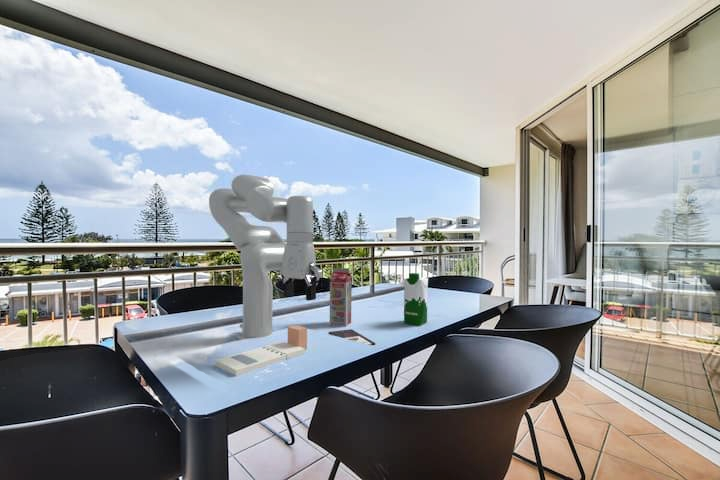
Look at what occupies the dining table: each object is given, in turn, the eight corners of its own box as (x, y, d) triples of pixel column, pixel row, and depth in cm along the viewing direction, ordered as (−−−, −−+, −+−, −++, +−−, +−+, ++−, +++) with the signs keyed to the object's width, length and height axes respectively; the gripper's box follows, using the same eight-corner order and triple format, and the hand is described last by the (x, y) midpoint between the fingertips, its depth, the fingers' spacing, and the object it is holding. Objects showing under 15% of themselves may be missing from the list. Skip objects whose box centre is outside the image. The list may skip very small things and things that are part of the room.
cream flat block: (215, 366, 82) (215, 359, 82) (263, 352, 93) (263, 346, 93) (236, 376, 76) (236, 369, 76) (286, 360, 86) (286, 354, 86)
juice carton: (335, 321, 134) (336, 267, 134) (351, 322, 132) (351, 267, 132) (329, 325, 128) (330, 268, 128) (345, 326, 126) (346, 269, 126)
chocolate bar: (351, 329, 121) (375, 343, 104) (351, 331, 121) (375, 346, 104) (328, 331, 117) (349, 346, 100) (328, 334, 117) (349, 349, 100)
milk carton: (401, 323, 132) (401, 273, 132) (410, 319, 140) (410, 271, 140) (421, 326, 127) (422, 274, 127) (430, 322, 135) (430, 273, 135)
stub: (264, 351, 93) (264, 329, 93) (290, 343, 100) (290, 323, 100) (286, 359, 87) (287, 336, 87) (312, 350, 94) (312, 329, 94)
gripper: (271, 239, 99) (270, 296, 98) (309, 238, 88) (309, 303, 87) (291, 239, 104) (291, 293, 104) (330, 238, 93) (330, 299, 93)
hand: (299, 298), depth 96 cm, fingers open, 9 cm apart
